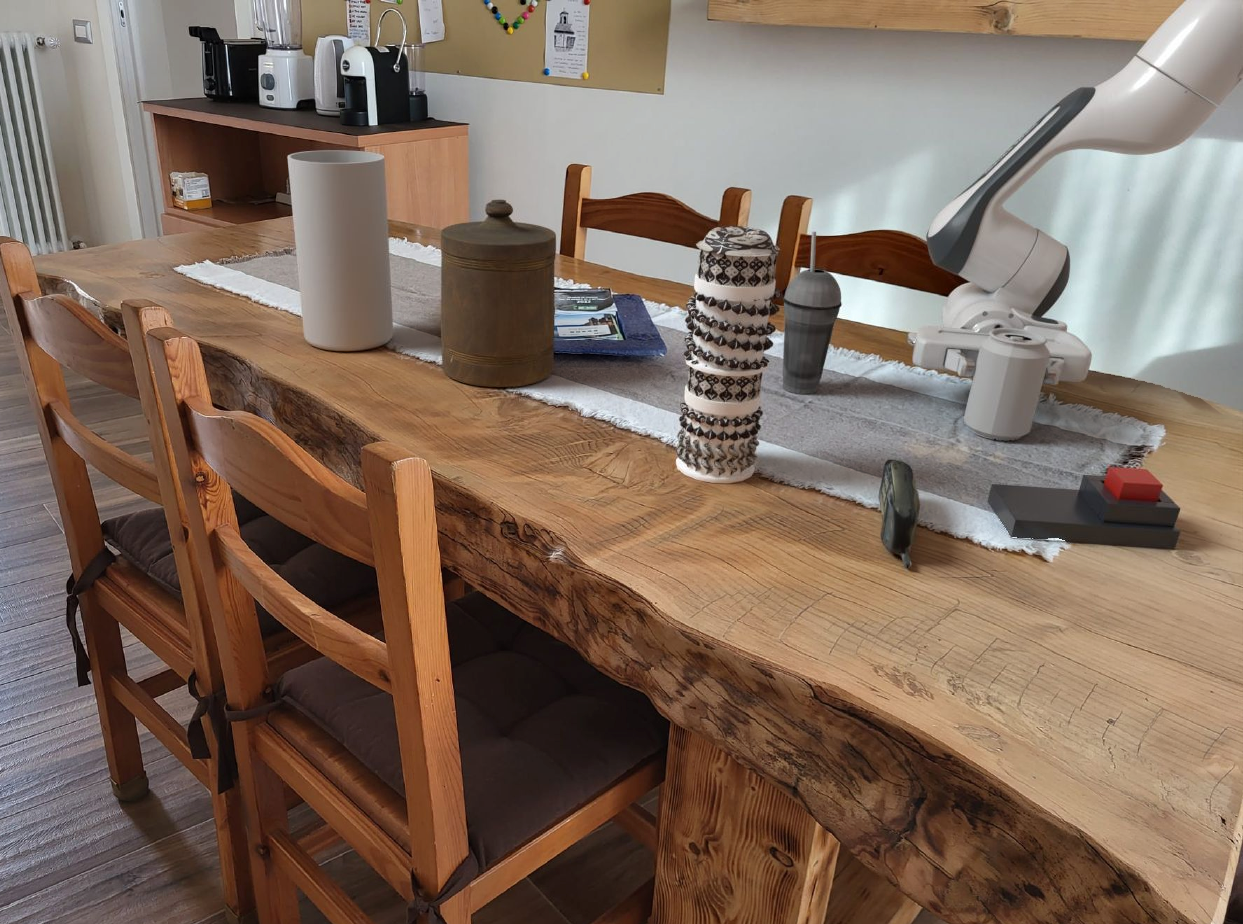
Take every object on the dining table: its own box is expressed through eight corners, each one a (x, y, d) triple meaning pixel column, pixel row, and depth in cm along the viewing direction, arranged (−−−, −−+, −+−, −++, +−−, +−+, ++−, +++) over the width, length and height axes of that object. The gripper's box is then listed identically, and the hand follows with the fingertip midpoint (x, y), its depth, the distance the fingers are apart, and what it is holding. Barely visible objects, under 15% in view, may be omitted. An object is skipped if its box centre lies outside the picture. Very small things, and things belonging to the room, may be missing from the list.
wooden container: (560, 356, 138) (565, 193, 129) (543, 392, 125) (547, 214, 115) (457, 348, 140) (453, 187, 130) (429, 383, 127) (423, 207, 117)
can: (1032, 428, 120) (1057, 331, 115) (1023, 448, 114) (1049, 348, 109) (968, 415, 123) (989, 320, 118) (956, 434, 117) (978, 336, 112)
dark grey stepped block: (1138, 511, 100) (1150, 475, 98) (1174, 550, 93) (1187, 512, 91) (987, 501, 101) (995, 465, 100) (1010, 538, 94) (1020, 500, 92)
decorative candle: (772, 482, 104) (805, 240, 93) (687, 487, 102) (711, 241, 91) (740, 447, 112) (767, 221, 100) (661, 452, 110) (680, 221, 99)
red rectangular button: (1140, 488, 97) (1147, 469, 96) (1156, 504, 94) (1163, 485, 93) (1102, 485, 97) (1108, 466, 96) (1117, 501, 94) (1123, 482, 93)
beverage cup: (804, 402, 125) (827, 242, 116) (760, 385, 130) (779, 231, 121) (839, 390, 130) (864, 235, 121) (795, 375, 135) (816, 225, 126)
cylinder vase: (286, 344, 139) (267, 158, 128) (338, 322, 150) (325, 147, 138) (361, 358, 135) (348, 166, 124) (410, 334, 145) (402, 155, 134)
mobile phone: (881, 453, 99) (893, 517, 86) (912, 457, 99) (929, 521, 85) (873, 498, 101) (883, 567, 88) (903, 502, 101) (918, 571, 88)
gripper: (910, 308, 128) (922, 340, 116) (1078, 322, 124) (1109, 356, 112) (901, 355, 131) (912, 391, 118) (1065, 370, 127) (1094, 408, 115)
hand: (1010, 374), depth 115 cm, fingers open, 8 cm apart
